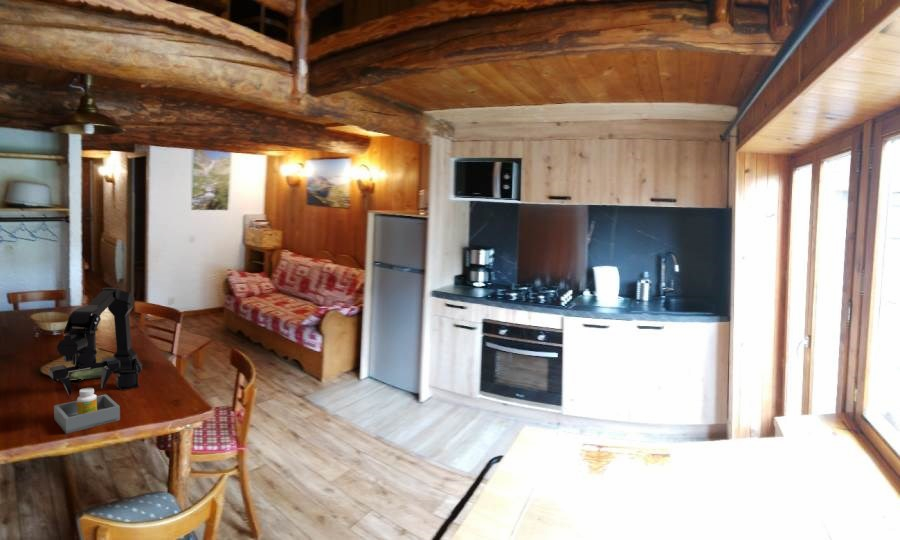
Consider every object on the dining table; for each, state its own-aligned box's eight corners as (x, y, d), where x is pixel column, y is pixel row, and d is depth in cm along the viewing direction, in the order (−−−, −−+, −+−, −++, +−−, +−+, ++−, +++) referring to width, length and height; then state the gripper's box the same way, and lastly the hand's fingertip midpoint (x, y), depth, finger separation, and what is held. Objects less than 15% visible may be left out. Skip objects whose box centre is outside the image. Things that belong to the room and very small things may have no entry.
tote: (106, 407, 176) (106, 394, 176) (120, 419, 168) (119, 406, 167) (54, 419, 165) (53, 405, 164) (66, 433, 156) (65, 419, 155)
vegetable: (68, 383, 194) (68, 371, 194) (68, 379, 198) (67, 368, 198) (111, 377, 203) (110, 366, 203) (109, 374, 207) (109, 362, 207)
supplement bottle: (81, 421, 162) (81, 394, 161) (74, 417, 165) (73, 390, 164) (100, 416, 167) (99, 389, 166) (92, 412, 170) (92, 385, 168)
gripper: (109, 337, 175) (110, 378, 177) (43, 346, 160) (45, 391, 162) (120, 344, 168) (121, 387, 170) (52, 354, 153) (54, 401, 155)
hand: (86, 391), depth 165 cm, fingers open, 9 cm apart
